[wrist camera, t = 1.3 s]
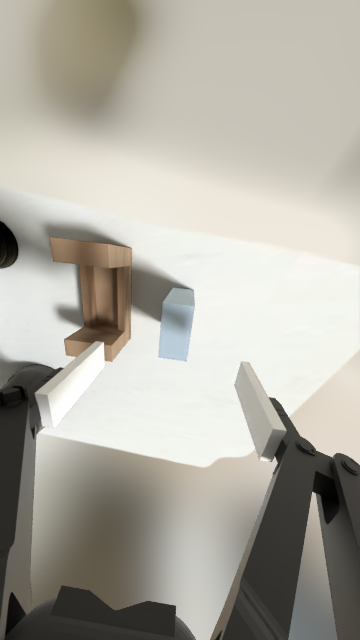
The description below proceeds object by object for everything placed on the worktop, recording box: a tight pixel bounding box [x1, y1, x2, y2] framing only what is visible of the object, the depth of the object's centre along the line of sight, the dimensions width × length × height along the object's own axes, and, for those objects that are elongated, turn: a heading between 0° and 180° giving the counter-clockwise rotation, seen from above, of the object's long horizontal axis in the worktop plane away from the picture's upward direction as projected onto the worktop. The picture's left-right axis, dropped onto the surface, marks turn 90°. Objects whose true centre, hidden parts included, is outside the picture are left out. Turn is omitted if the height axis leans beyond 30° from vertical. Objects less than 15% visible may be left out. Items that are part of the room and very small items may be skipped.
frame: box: [50, 237, 132, 362], centre depth 29 cm, size 8×18×9 cm, turn 173°
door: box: [158, 287, 195, 361], centre depth 28 cm, size 4×8×12 cm, turn 173°
